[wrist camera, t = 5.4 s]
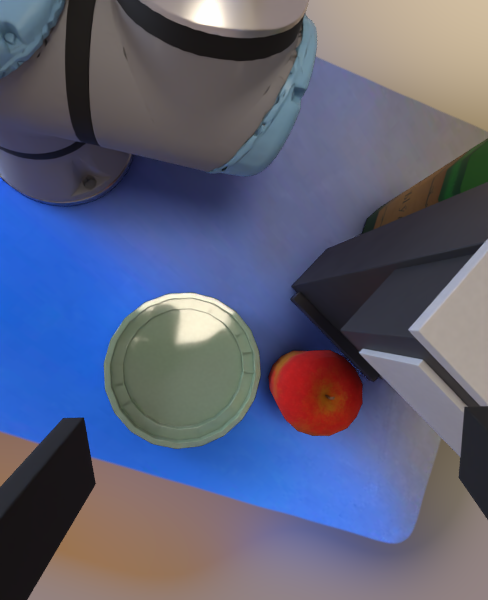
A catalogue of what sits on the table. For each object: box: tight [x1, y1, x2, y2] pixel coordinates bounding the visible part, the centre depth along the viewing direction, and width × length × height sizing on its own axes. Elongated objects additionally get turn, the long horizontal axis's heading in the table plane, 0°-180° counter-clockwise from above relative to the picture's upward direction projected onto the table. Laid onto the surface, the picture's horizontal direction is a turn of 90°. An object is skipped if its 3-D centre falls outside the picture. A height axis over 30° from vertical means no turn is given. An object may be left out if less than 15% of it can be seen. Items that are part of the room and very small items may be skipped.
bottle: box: [362, 139, 488, 234], centre depth 36 cm, size 11×11×28 cm
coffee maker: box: [291, 182, 488, 456], centre depth 34 cm, size 12×16×31 cm
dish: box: [104, 293, 261, 449], centre depth 44 cm, size 16×16×3 cm
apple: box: [268, 350, 363, 436], centre depth 42 cm, size 9×8×12 cm
